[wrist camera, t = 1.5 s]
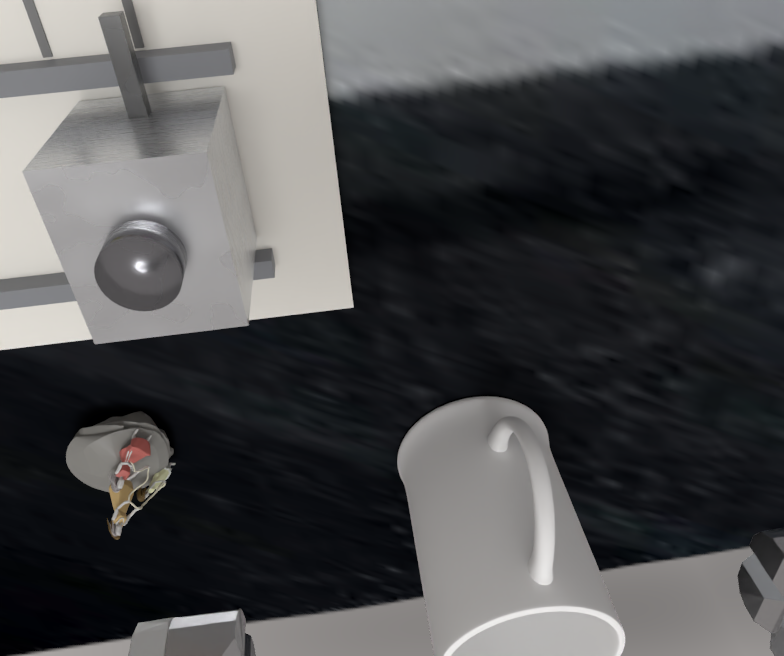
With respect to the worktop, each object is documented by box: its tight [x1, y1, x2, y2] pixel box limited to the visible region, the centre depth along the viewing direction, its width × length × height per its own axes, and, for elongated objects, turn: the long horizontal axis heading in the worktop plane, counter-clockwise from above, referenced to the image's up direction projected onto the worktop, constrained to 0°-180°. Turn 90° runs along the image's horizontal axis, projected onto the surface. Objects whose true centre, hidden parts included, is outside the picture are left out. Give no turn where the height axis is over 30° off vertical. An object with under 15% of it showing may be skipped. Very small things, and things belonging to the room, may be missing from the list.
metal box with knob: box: [22, 11, 257, 344], centre depth 21 cm, size 5×9×7 cm, turn 4°
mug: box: [397, 396, 625, 656], centre depth 32 cm, size 12×8×12 cm
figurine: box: [66, 411, 176, 540], centre depth 32 cm, size 5×4×6 cm
